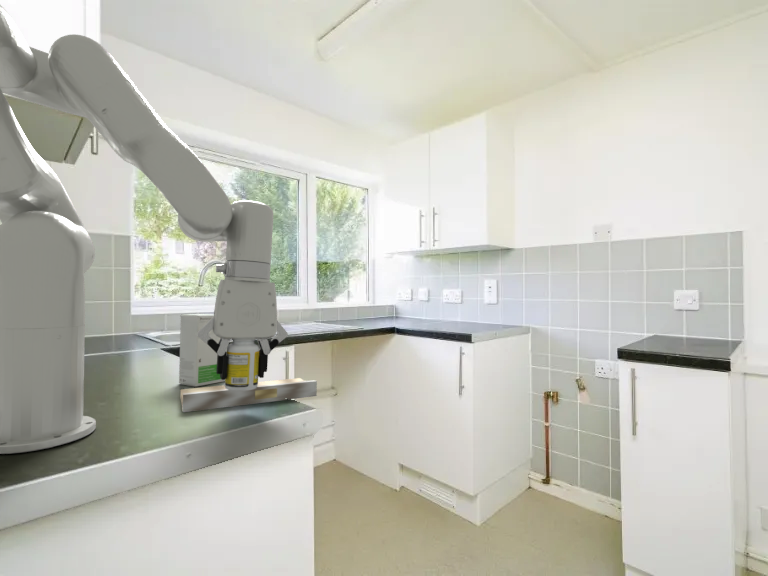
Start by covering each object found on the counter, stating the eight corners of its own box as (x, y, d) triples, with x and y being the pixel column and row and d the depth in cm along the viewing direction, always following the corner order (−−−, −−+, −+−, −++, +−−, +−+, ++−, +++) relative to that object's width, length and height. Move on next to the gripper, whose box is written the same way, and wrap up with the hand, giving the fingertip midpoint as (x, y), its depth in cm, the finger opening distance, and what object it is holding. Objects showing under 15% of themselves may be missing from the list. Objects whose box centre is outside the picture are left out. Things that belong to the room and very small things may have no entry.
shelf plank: (182, 412, 68) (183, 395, 68) (180, 397, 78) (180, 381, 78) (317, 396, 79) (317, 381, 79) (300, 384, 89) (300, 371, 89)
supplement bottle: (246, 383, 73) (249, 329, 73) (263, 388, 69) (267, 332, 70) (218, 387, 69) (221, 330, 69) (235, 393, 65) (238, 333, 65)
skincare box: (195, 387, 85) (196, 315, 85) (176, 384, 89) (178, 314, 89) (228, 380, 93) (229, 313, 93) (209, 377, 96) (210, 312, 96)
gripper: (195, 268, 62) (188, 384, 62) (302, 276, 70) (296, 378, 70) (192, 270, 69) (185, 375, 68) (290, 277, 77) (285, 371, 76)
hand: (241, 376), depth 69 cm, fingers closed on supplement bottle, 5 cm apart
